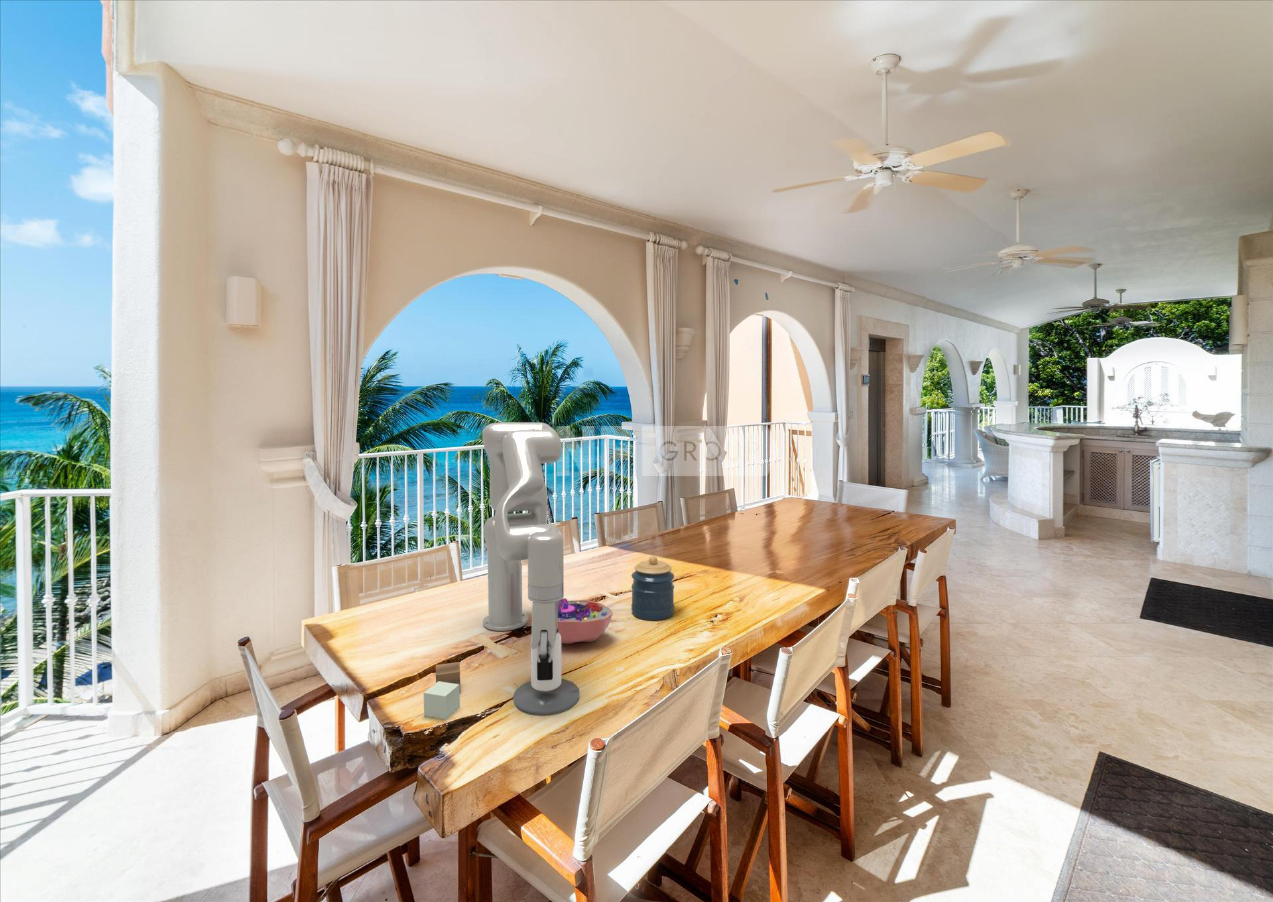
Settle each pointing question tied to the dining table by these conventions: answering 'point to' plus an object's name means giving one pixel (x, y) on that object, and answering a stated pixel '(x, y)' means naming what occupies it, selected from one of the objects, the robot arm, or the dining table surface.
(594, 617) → the cell model
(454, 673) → the walnut block
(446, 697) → the sage block
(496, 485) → the robot arm
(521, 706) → the trivet
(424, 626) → the dining table surface
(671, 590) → the canister
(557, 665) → the can
